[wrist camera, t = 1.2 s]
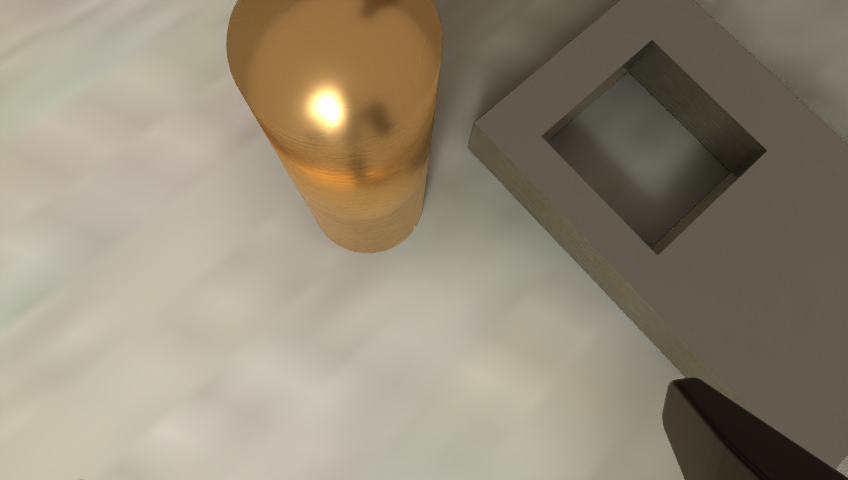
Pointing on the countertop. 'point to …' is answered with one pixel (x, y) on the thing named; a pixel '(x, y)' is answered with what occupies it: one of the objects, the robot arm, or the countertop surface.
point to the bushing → (345, 105)
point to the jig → (704, 214)
